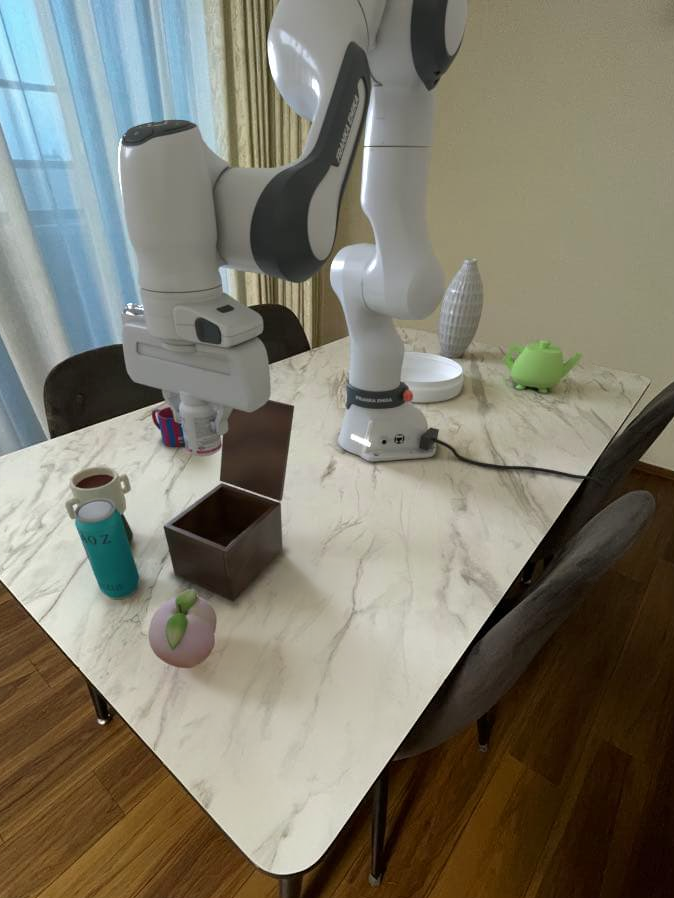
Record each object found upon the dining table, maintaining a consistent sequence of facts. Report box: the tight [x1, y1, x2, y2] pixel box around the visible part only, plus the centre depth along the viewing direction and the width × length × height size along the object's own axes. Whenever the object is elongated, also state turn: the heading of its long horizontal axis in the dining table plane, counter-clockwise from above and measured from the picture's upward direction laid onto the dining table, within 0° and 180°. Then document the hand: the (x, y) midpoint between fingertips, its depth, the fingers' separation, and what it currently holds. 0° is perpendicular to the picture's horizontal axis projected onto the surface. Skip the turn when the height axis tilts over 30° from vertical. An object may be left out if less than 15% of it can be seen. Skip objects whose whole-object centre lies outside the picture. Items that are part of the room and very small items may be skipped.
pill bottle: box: [179, 391, 222, 457], centre depth 61 cm, size 5×5×8 cm
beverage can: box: [74, 498, 140, 601], centre depth 67 cm, size 6×6×15 cm
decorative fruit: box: [147, 588, 218, 669], centre depth 59 cm, size 9×8×10 cm
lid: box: [219, 399, 295, 502], centre depth 72 cm, size 14×12×1 cm
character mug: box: [64, 466, 134, 545], centre depth 76 cm, size 11×7×13 cm, turn 142°
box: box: [162, 482, 283, 603], centre depth 73 cm, size 14×12×10 cm
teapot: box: [502, 339, 583, 394], centre depth 134 cm, size 20×13×13 cm
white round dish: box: [401, 351, 464, 404], centre depth 136 cm, size 27×27×6 cm
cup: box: [151, 406, 185, 447], centre depth 108 cm, size 7×10×7 cm
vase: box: [438, 258, 484, 359], centre depth 151 cm, size 13×13×28 cm
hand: (201, 427), depth 61 cm, fingers closed on pill bottle, 5 cm apart
